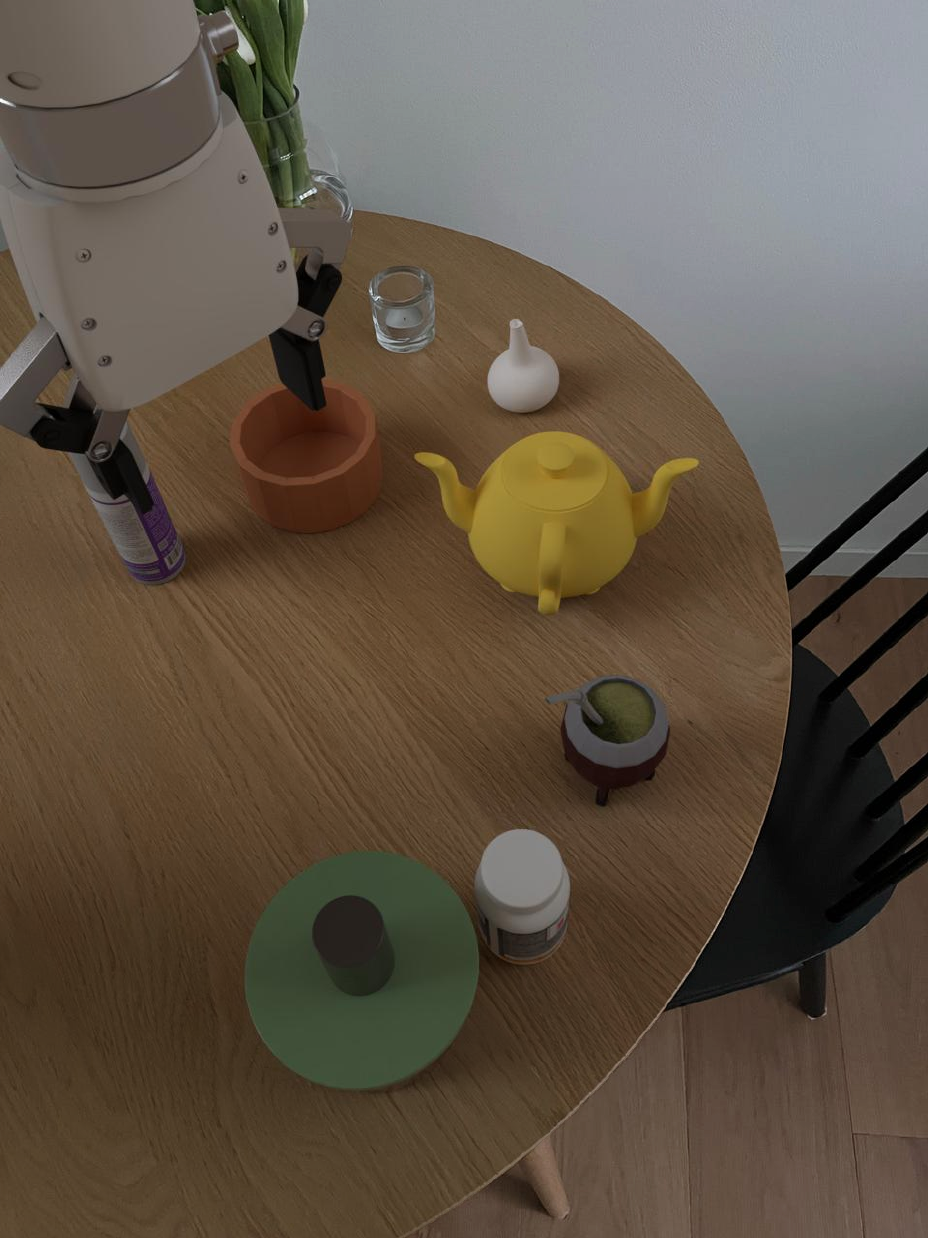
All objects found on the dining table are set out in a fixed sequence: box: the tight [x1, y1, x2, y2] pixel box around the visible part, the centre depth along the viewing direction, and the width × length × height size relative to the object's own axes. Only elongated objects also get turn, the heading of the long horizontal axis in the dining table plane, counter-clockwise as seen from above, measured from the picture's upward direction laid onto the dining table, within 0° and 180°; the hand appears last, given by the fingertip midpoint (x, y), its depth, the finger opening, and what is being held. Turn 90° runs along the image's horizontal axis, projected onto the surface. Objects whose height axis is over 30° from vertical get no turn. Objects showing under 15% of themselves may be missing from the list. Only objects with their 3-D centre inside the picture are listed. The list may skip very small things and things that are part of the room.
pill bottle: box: [474, 828, 572, 966], centre depth 64 cm, size 6×6×10 cm
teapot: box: [414, 430, 700, 616], centre depth 79 cm, size 20×15×12 cm
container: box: [68, 408, 187, 586], centre depth 79 cm, size 5×5×15 cm
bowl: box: [229, 378, 384, 534], centre depth 87 cm, size 12×12×6 cm
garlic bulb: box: [487, 318, 560, 414], centre depth 91 cm, size 6×6×8 cm
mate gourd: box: [544, 674, 671, 807], centre depth 67 cm, size 8×8×15 cm
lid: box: [244, 850, 480, 1092], centre depth 55 cm, size 13×13×7 cm
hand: (221, 443), depth 51 cm, fingers open, 9 cm apart
